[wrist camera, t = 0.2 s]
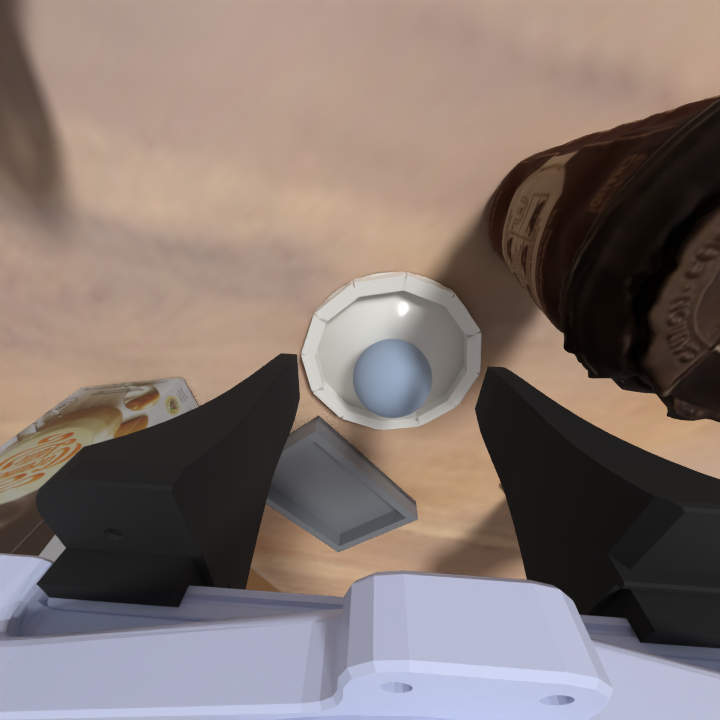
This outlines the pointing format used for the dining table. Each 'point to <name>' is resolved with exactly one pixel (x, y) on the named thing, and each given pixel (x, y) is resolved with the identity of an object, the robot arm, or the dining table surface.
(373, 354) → the ball
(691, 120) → the coffee cup
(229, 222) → the dining table surface
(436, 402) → the saucer
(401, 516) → the tray
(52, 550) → the coffee box
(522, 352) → the dining table surface
